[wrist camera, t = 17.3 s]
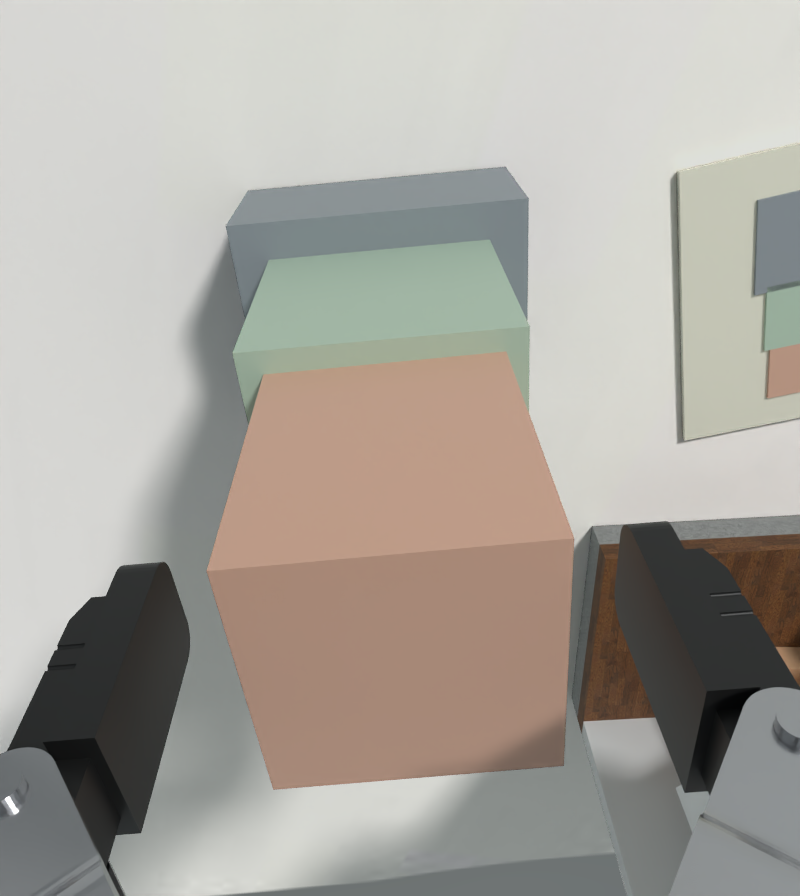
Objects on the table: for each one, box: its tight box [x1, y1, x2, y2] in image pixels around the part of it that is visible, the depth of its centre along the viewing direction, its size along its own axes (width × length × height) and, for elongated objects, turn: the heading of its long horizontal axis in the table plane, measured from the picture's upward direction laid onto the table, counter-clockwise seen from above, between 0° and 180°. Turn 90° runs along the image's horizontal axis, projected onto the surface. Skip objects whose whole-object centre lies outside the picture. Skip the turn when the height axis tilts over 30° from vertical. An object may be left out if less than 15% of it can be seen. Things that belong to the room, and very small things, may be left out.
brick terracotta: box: [207, 351, 574, 790], centre depth 14 cm, size 5×5×6 cm
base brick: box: [226, 167, 529, 320], centre depth 23 cm, size 8×8×4 cm
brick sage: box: [232, 240, 530, 425], centre depth 19 cm, size 6×6×6 cm
